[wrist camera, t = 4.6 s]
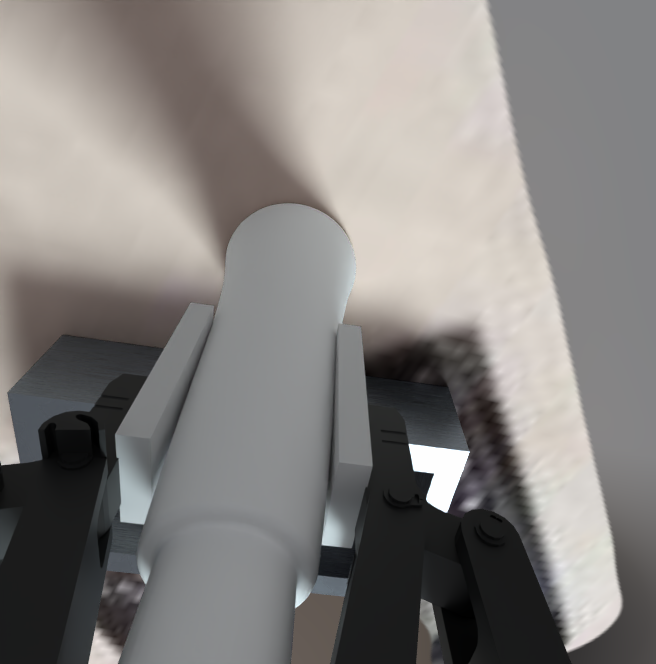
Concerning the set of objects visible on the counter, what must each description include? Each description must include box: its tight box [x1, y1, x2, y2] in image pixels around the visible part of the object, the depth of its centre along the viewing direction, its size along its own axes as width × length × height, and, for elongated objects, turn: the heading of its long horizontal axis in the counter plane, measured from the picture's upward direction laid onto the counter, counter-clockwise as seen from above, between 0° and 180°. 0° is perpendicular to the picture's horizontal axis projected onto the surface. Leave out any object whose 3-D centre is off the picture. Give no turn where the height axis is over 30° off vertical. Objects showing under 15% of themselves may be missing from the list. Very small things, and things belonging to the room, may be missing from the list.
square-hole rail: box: [8, 335, 469, 597], centre depth 27 cm, size 20×11×5 cm, turn 81°
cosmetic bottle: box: [118, 203, 356, 664], centre depth 15 cm, size 6×6×22 cm
